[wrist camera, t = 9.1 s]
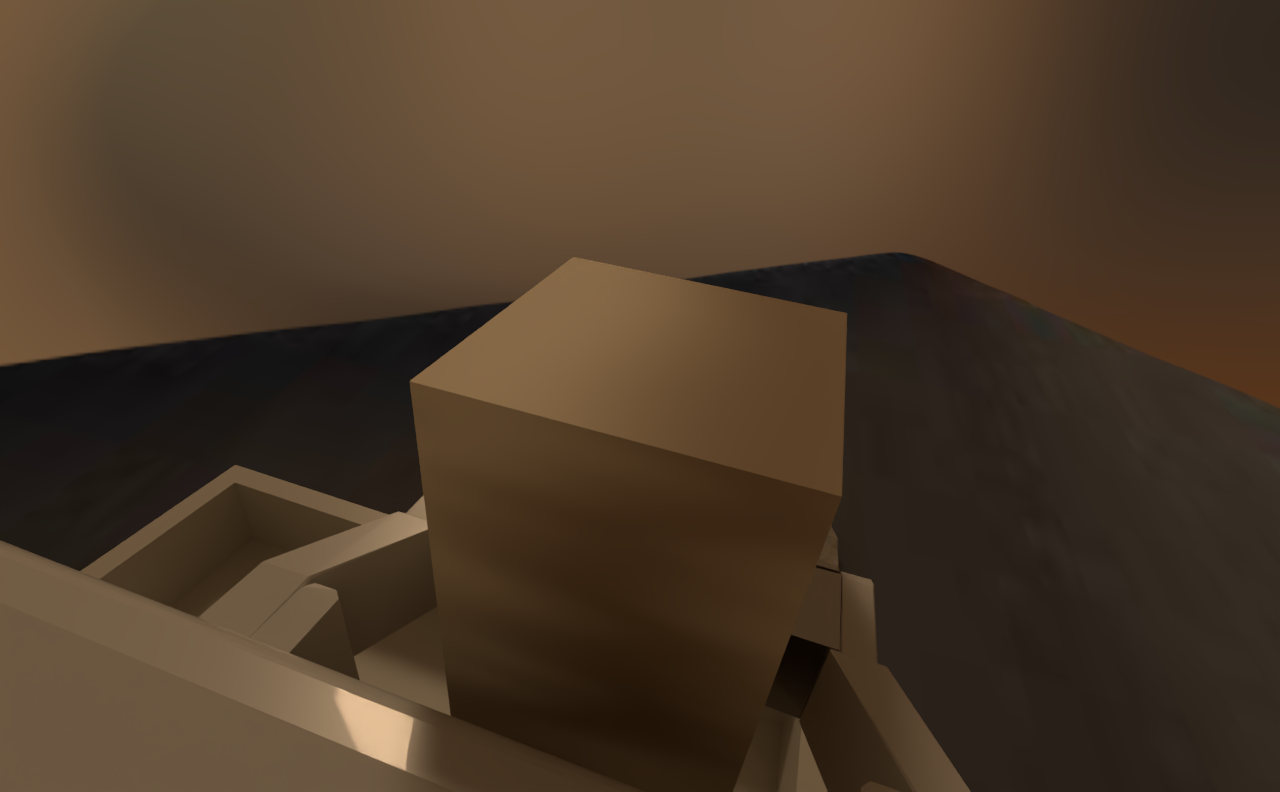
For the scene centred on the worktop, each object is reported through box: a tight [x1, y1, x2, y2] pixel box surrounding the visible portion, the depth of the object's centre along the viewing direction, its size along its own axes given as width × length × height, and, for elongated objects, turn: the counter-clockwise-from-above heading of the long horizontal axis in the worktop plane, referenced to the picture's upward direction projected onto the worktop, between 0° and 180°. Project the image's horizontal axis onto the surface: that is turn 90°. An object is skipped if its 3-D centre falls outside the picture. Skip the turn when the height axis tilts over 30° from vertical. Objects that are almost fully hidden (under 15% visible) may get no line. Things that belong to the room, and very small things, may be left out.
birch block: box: [410, 257, 847, 792], centre depth 11 cm, size 4×4×11 cm
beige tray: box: [80, 465, 827, 792], centre depth 17 cm, size 24×14×4 cm, turn 73°
